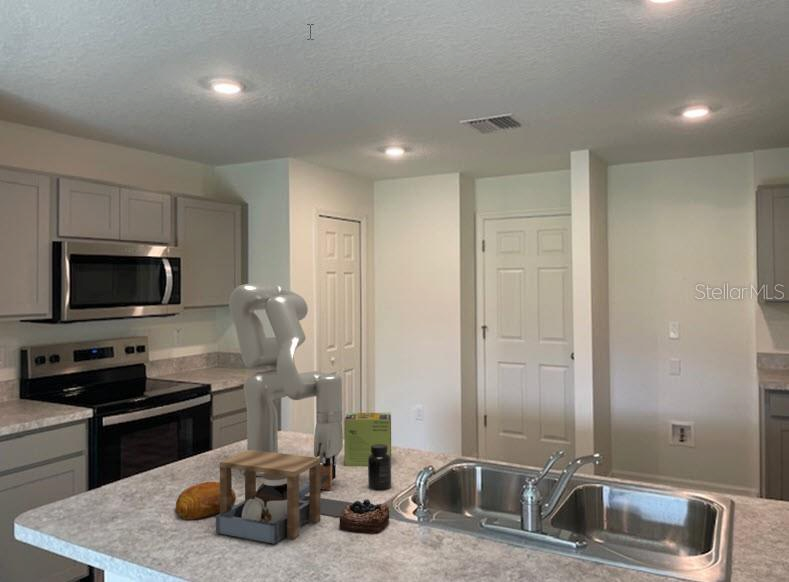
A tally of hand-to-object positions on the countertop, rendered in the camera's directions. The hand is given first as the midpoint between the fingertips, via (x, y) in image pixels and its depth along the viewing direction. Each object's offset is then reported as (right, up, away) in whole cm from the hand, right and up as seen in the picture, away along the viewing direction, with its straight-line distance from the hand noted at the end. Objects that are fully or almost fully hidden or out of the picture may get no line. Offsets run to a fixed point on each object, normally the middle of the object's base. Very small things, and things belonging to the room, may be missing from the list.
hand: (329, 478), depth 175 cm
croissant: (-31, -3, -18) cm, 36 cm away
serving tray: (-8, -2, -20) cm, 22 cm away
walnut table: (-12, -2, -28) cm, 30 cm away
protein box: (+10, -2, +25) cm, 27 cm away
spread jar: (-12, -3, -29) cm, 31 cm away
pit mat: (-5, -2, -15) cm, 16 cm away
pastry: (+12, -3, -29) cm, 31 cm away
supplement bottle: (+15, -2, -1) cm, 15 cm away
